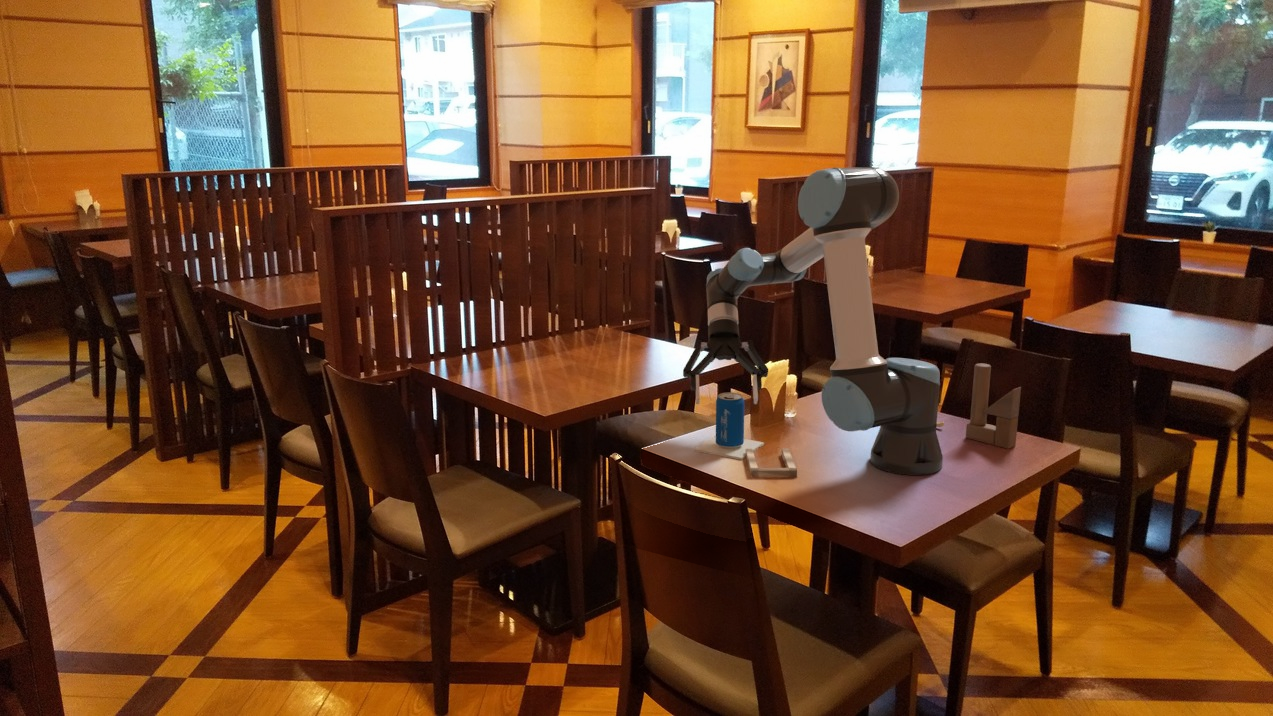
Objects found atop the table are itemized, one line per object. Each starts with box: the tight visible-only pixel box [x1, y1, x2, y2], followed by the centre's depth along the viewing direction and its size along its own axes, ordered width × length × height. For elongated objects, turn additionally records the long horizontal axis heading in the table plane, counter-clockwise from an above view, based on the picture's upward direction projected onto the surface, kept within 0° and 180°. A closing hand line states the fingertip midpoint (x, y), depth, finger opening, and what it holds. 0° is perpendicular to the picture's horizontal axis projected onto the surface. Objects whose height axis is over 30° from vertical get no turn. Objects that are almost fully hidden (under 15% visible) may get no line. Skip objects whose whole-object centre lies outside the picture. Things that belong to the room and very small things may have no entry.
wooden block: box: [965, 362, 1022, 450], centre depth 207 cm, size 4×11×18 cm, turn 40°
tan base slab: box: [745, 448, 798, 478], centre depth 196 cm, size 14×10×2 cm
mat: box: [693, 435, 765, 461], centre depth 208 cm, size 12×12×1 cm
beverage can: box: [715, 391, 745, 449], centre depth 206 cm, size 6×6×12 cm
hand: (726, 401), depth 210 cm, fingers open, 13 cm apart
